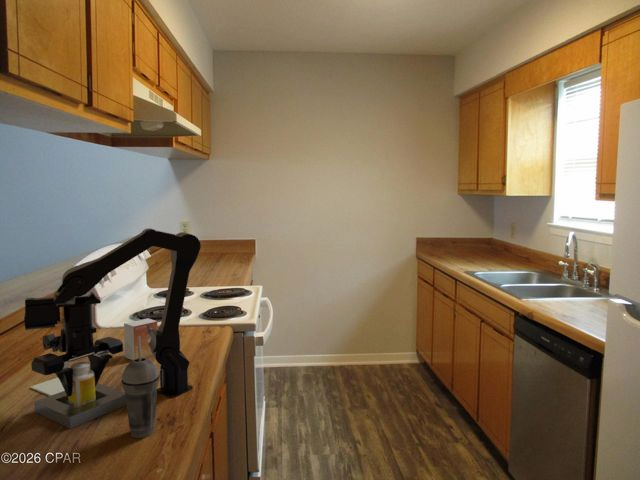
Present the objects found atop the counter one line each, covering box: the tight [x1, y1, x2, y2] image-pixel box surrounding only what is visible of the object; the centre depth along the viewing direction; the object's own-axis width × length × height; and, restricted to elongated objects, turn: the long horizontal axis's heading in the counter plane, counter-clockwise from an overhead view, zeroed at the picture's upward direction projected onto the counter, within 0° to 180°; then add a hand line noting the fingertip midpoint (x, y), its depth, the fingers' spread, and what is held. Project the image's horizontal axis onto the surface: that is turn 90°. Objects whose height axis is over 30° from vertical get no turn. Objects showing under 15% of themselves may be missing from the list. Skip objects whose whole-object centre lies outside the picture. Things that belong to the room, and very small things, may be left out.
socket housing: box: [33, 382, 127, 429], centre depth 111 cm, size 14×14×2 cm
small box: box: [123, 317, 158, 361], centre depth 145 cm, size 8×6×10 cm
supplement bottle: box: [68, 361, 96, 408], centre depth 110 cm, size 6×6×10 cm
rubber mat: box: [30, 377, 65, 397], centre depth 123 cm, size 11×11×1 cm
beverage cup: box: [120, 336, 160, 439], centre depth 99 cm, size 7×7×20 cm
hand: (81, 391), depth 110 cm, fingers closed on supplement bottle, 6 cm apart
